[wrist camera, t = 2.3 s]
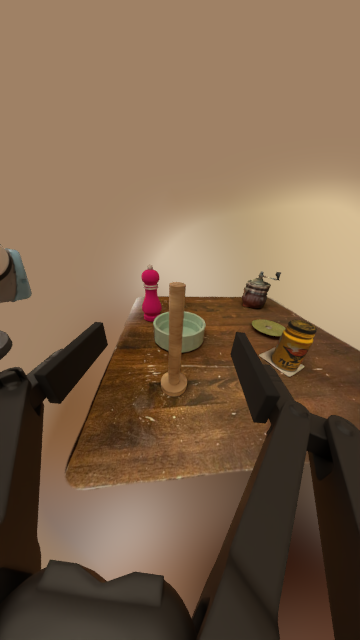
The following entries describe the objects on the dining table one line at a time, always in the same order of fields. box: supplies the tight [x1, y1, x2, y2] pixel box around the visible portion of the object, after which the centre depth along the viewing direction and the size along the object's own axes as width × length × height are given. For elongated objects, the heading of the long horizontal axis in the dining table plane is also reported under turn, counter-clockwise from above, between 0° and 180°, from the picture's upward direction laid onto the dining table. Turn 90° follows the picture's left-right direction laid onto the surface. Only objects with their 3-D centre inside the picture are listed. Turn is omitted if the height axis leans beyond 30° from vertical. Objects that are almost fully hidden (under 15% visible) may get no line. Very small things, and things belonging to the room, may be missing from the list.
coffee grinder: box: [242, 272, 281, 309], centre depth 70 cm, size 13×15×18 cm
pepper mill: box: [142, 265, 162, 322], centre depth 55 cm, size 7×7×20 cm
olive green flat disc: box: [252, 320, 285, 336], centre depth 54 cm, size 11×11×2 cm
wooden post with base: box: [161, 282, 187, 396], centre depth 27 cm, size 6×6×22 cm
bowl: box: [153, 312, 206, 353], centre depth 47 cm, size 15×15×6 cm
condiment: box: [259, 320, 317, 377], centre depth 38 cm, size 7×8×12 cm
